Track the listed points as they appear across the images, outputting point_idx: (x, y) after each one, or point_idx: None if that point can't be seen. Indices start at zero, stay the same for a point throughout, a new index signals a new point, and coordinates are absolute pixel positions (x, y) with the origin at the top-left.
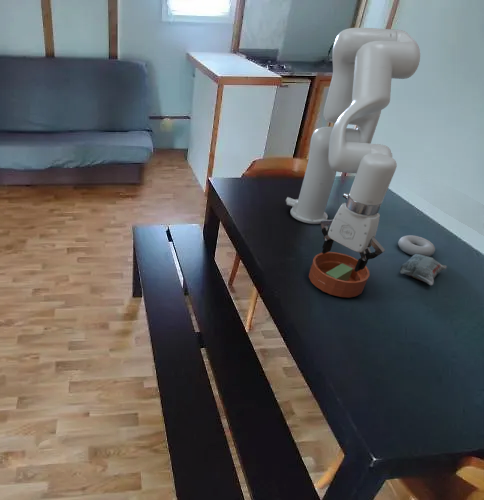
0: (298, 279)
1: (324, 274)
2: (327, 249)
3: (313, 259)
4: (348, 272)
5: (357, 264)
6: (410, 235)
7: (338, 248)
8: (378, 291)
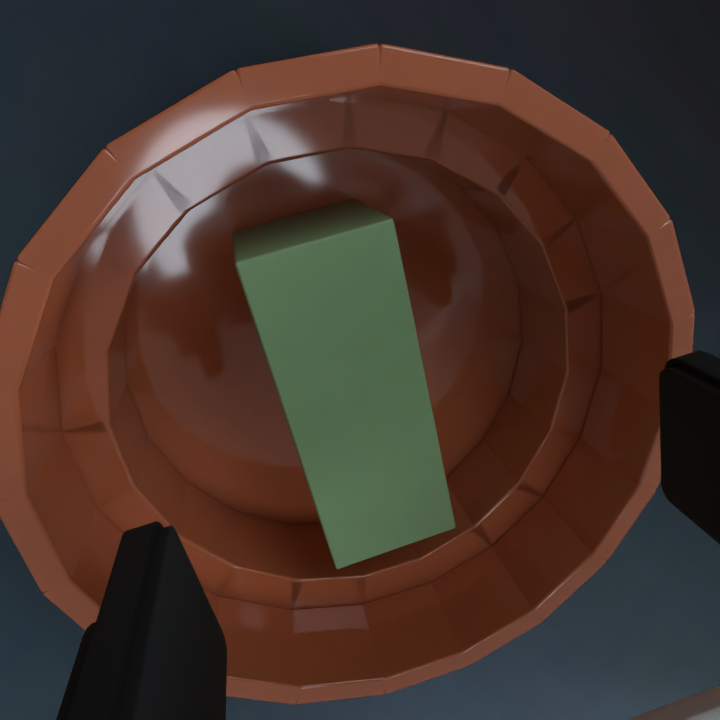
0: (517, 9)
1: (308, 58)
2: (704, 442)
3: (656, 200)
4: (313, 496)
5: (124, 622)
6: None
7: (639, 635)
8: None
